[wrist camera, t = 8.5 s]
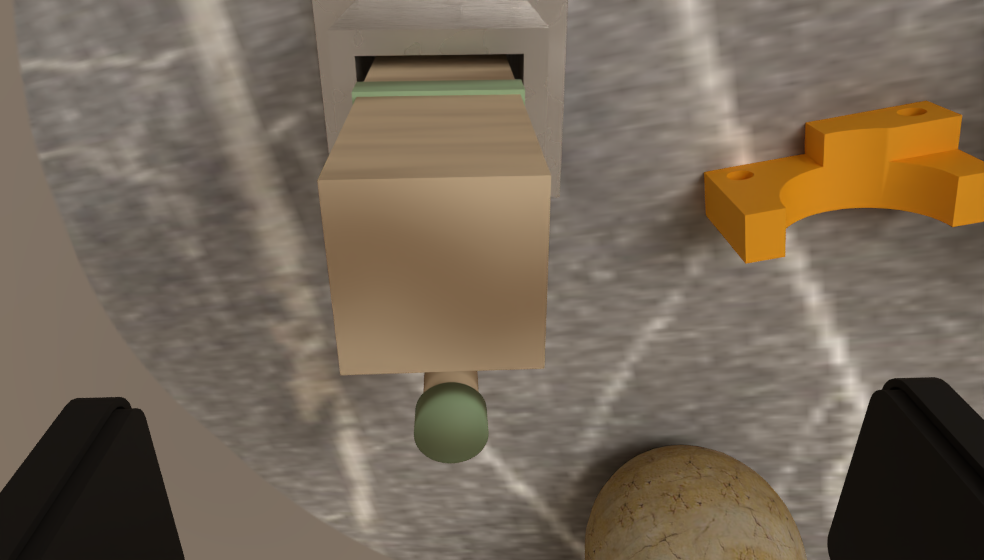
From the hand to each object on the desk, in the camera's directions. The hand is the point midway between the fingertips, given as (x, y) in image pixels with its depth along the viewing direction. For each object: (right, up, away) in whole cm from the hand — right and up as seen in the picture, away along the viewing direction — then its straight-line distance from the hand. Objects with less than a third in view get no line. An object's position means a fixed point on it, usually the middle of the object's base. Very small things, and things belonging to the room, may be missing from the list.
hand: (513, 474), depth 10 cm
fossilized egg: (+11, -11, +41) cm, 44 cm away
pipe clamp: (+17, +9, +31) cm, 37 cm away
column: (-2, +9, +21) cm, 23 cm away
